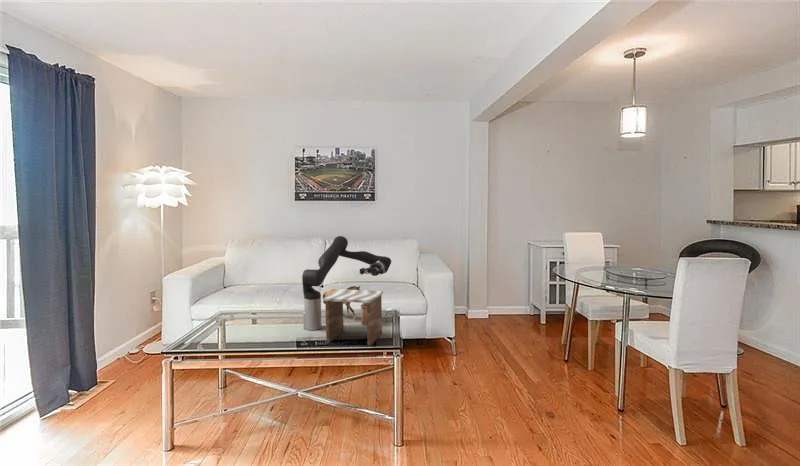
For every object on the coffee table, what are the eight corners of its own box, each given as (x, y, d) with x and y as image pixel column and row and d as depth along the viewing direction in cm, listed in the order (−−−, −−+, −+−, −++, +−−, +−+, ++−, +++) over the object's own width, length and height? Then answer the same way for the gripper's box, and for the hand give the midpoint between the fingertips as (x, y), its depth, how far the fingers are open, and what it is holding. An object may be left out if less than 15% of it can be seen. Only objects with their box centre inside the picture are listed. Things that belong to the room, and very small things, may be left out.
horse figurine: (366, 316, 286) (361, 285, 280) (359, 323, 280) (353, 291, 274) (327, 309, 303) (321, 279, 296) (319, 315, 296) (312, 285, 290)
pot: (359, 325, 274) (359, 299, 272) (363, 321, 280) (362, 296, 279) (370, 325, 272) (370, 299, 271) (374, 322, 279) (373, 297, 277)
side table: (324, 343, 243) (323, 298, 241) (340, 330, 264) (339, 289, 262) (371, 346, 237) (370, 300, 235) (383, 333, 258) (383, 291, 256)
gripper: (365, 262, 294) (356, 266, 279) (387, 262, 291) (380, 266, 275) (365, 274, 295) (356, 278, 279) (387, 275, 291) (380, 279, 276)
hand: (368, 273), depth 277 cm, fingers open, 8 cm apart
